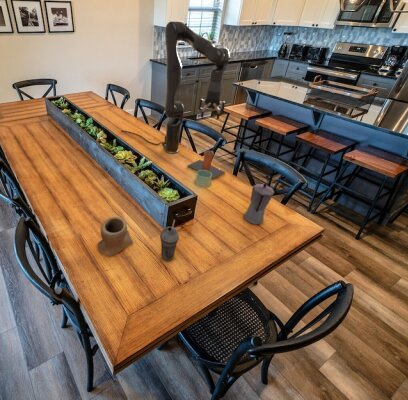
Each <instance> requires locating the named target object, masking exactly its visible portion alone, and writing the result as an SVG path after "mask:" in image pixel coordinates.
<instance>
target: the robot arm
mask: <svg viewBox="0 0 408 400" xmlns="http://www.w3.org/2000/svg"><path fill="white" fill-rule="evenodd" d="M164 33H165V34H164V36H165V37H164V38H165V49H166V52H165V53H166V75H165V76H166V92H165V93H166V94H165V106H164V112H165V115H166V117H167V118H169V120H167V122H166V129H165V130H166V131H165V136H164V141H162V142H159V143H154V142H152V141H149V140H148V139H146V138H145V137H143V136H142V135H140V134H138V133H135V132H131V131H128V130H120V131H121V132H124V133H128V134H132V135H136V136H138V137H140V138H141V139H143V140H144V141H145V142H147V143H149V144H151V145H154V146H155V145H156V146H159V145H161V146H162V147H163V150H164V151H165V152H166V153H169V154H176V153H178V152H179V146H180V135H181V126H182V124H183V121H184V120H183V119H184V113H185V106H184V104H183V102H182V101H180V100H177V101H176V100H175V99H176V94H177V91H178V90H179V87H180V85H181V82H182V79H183V65H182V62H181V59H180V57H179V54H178V42H180V41H181V42H185V43H187V44H189V45H190V46H191V47H192V48H193V50H194V51H196V52H197V53H199V54H200V55H202V56H204V57H205V58H206V59H207V60H208V61H209V62H210V63H212V64H215V65H214V67H213V68H212V69H211V70H210V74H209V81H208V84H207V89H206V97H205V99H204V98H200V100H199V105H198V111H201V112H200V117H201V119H204V115H205V114H204V113H205V110H206V109H212V110H214V109H215V110H216V112H217V113H216V120H217V121H218V120H219V119H220V117H221V114H224V112H225V105H226V101H225V100H222V101H221V95H222V94H221V93H222V89H223V81H224V75H225V71H226V69H227V66H228V64H229V61H230V51H229V49H228V47H216V46H215V44H214V43H213V42H212V41H211V40H209V39H207V38H205V37H203V36H201V35H199V34H198V33H196V32H195V31H194V30H192V28H190V27H189V26H187V25H186V24H185V23H184V22H182V21H175V20H174V21H173V20H172V21H169V22H167V24H166V25H165V30H164ZM204 103H205V105H204V106H202V105H203V104H204ZM219 105H220V106H221V109H220V108H219V107H220V106H219Z"/></svg>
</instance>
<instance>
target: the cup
mask: <svg viewBox="0 0 408 400" xmlns="http://www.w3.org/2000/svg"><path fill="white" fill-rule="evenodd" d="M211 178H212V173H211V172H210V171H207V170H199V171H196V175H195V181H194V182H195V184H196V185H197V186H199V187H203V188H206V187H209V186H210V185H211V182H212V179H211Z"/></svg>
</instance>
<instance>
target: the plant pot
mask: <svg viewBox="0 0 408 400" xmlns="http://www.w3.org/2000/svg"><path fill="white" fill-rule="evenodd" d="M214 154H215V152H214V151H213V150H210V149H207V150H204V151H203V160H202V161H203V166H202V169H203V170H207V171H208V170H210V168H211V165H212V162H213V157H214Z"/></svg>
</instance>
